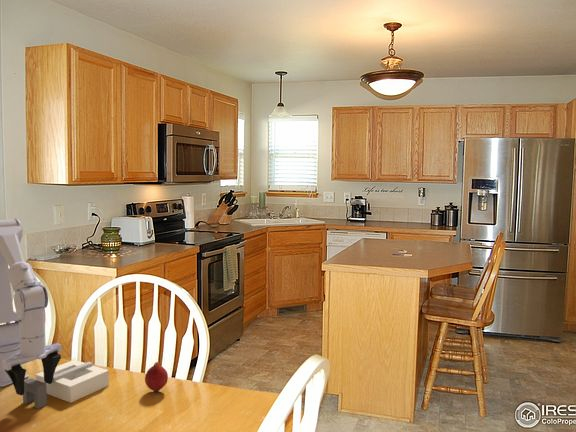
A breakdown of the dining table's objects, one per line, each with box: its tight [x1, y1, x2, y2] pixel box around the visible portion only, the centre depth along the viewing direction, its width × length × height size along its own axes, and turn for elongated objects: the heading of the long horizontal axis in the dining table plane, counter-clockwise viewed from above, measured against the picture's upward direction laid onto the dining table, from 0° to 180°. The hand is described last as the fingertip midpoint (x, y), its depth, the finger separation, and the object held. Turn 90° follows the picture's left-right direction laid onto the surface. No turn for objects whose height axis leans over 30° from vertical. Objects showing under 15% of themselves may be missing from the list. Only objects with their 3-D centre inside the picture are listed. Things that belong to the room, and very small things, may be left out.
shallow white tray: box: [34, 359, 110, 403], centre depth 141 cm, size 14×12×5 cm
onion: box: [144, 361, 169, 393], centre depth 139 cm, size 6×6×8 cm
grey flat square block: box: [22, 377, 48, 409], centre depth 131 cm, size 6×2×6 cm, turn 60°
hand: (34, 388), depth 131 cm, fingers open, 7 cm apart
